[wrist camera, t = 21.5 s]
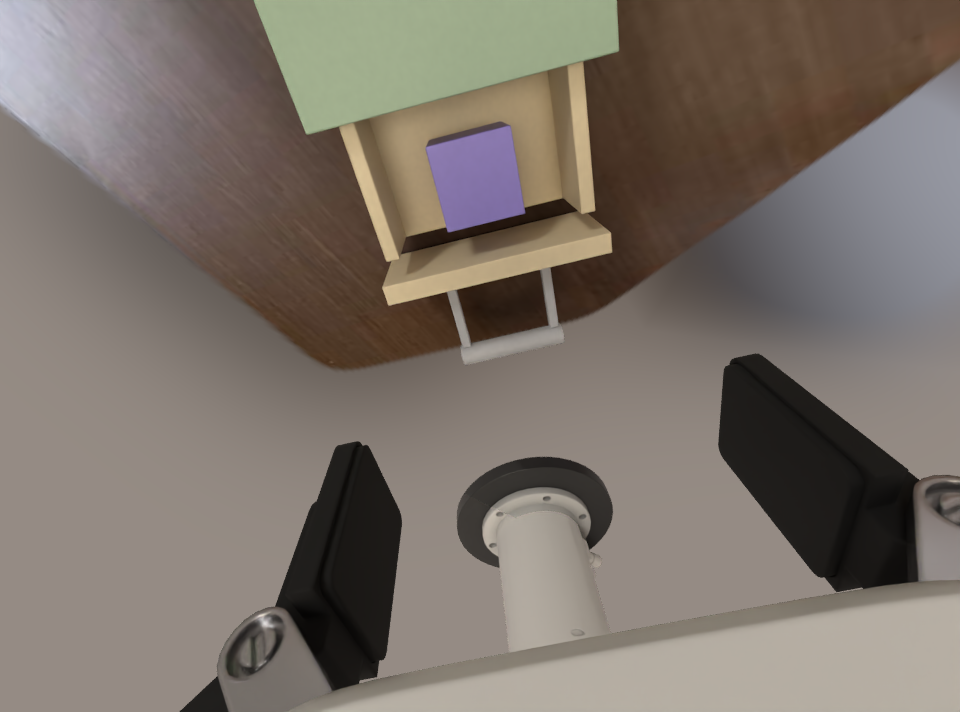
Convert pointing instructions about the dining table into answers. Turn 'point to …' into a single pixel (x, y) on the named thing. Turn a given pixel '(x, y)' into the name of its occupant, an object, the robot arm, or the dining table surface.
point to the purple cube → (476, 176)
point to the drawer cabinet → (422, 49)
